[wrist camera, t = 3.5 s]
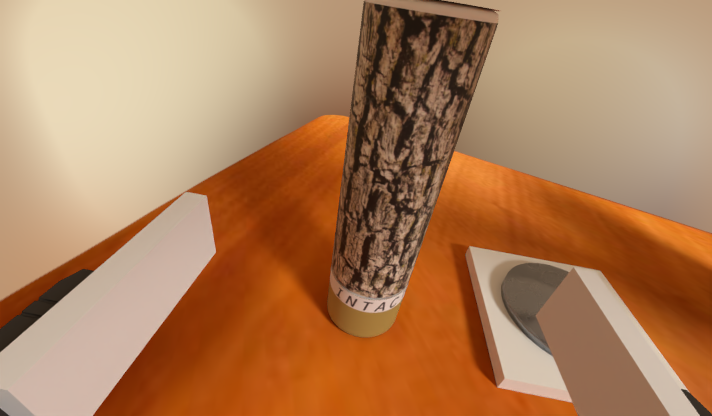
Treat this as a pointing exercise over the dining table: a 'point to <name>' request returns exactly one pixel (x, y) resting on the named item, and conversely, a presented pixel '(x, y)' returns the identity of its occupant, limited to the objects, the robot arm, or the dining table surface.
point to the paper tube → (400, 147)
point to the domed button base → (525, 319)
